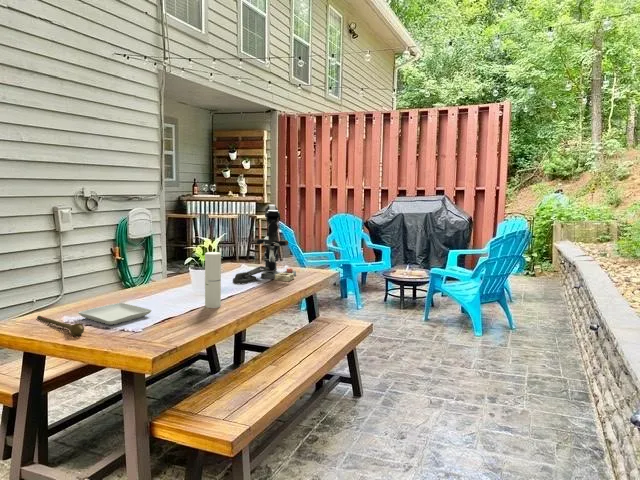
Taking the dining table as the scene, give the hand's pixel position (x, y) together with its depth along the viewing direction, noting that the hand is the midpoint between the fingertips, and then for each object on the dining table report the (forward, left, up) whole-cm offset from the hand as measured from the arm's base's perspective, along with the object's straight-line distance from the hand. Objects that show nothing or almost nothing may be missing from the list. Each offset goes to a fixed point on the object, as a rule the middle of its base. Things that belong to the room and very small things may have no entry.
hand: (272, 256), depth 298 cm
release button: (+8, +9, -12) cm, 17 cm away
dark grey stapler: (-8, -13, -13) cm, 20 cm away
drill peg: (0, 0, -3) cm, 3 cm away
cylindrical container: (0, -75, -13) cm, 76 cm away
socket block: (+3, +4, -13) cm, 14 cm away
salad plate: (-28, -107, -14) cm, 111 cm away
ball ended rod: (-39, -125, -14) cm, 132 cm away
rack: (+9, -3, -13) cm, 16 cm away
